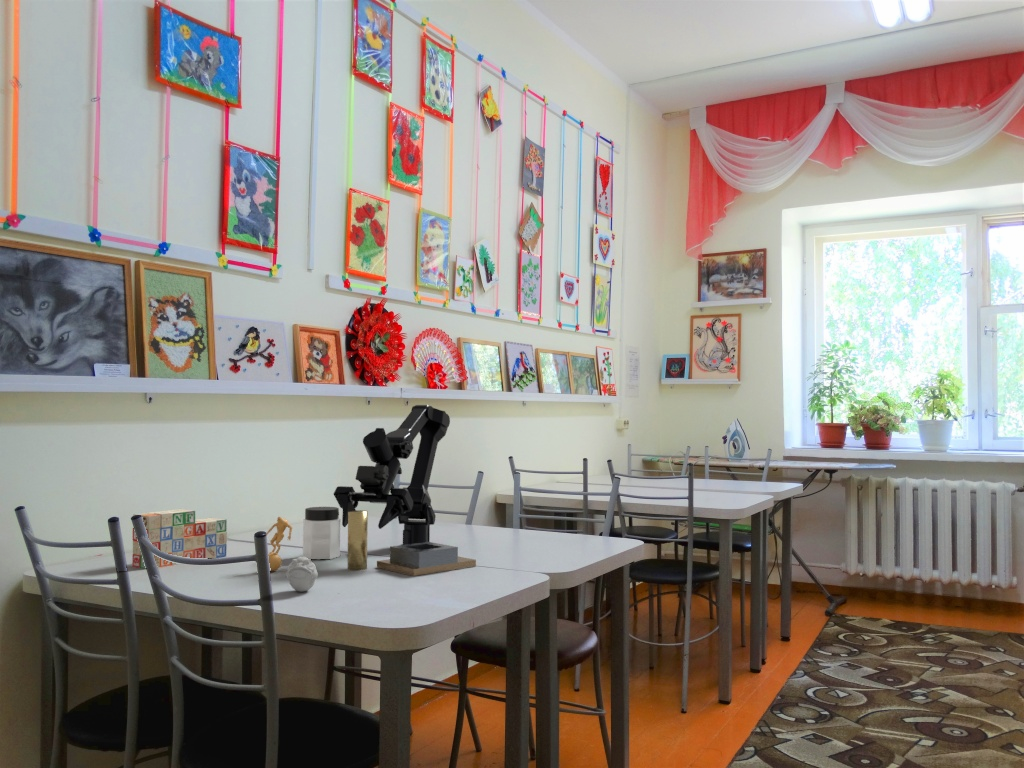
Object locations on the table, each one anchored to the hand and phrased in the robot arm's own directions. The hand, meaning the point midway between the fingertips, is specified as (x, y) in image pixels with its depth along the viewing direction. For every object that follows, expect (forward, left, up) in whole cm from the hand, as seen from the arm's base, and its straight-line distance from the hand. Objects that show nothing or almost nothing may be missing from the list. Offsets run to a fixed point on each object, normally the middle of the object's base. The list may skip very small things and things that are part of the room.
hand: (361, 526), depth 193 cm
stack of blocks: (+27, -36, -10) cm, 46 cm away
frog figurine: (+24, +15, -9) cm, 29 cm away
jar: (-1, -18, -9) cm, 21 cm away
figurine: (+16, -9, -9) cm, 21 cm away
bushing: (+2, +1, -9) cm, 9 cm away
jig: (-12, +10, -9) cm, 18 cm away
